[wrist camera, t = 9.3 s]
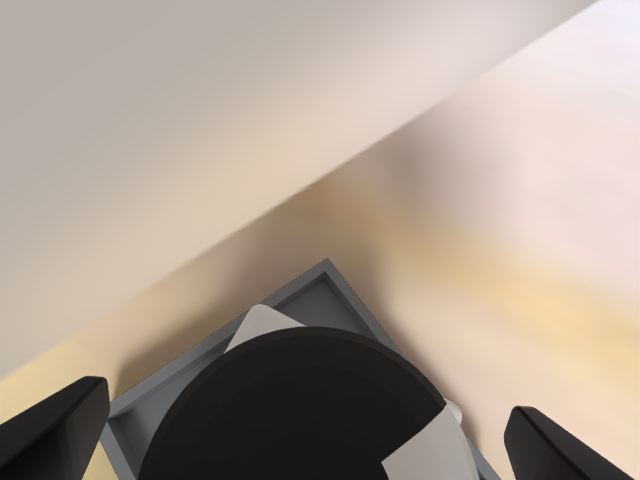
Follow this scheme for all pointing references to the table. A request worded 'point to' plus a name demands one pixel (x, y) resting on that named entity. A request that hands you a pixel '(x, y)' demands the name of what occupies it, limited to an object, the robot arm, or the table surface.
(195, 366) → the tray
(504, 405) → the table surface
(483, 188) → the table surface
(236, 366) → the medicine bottle
